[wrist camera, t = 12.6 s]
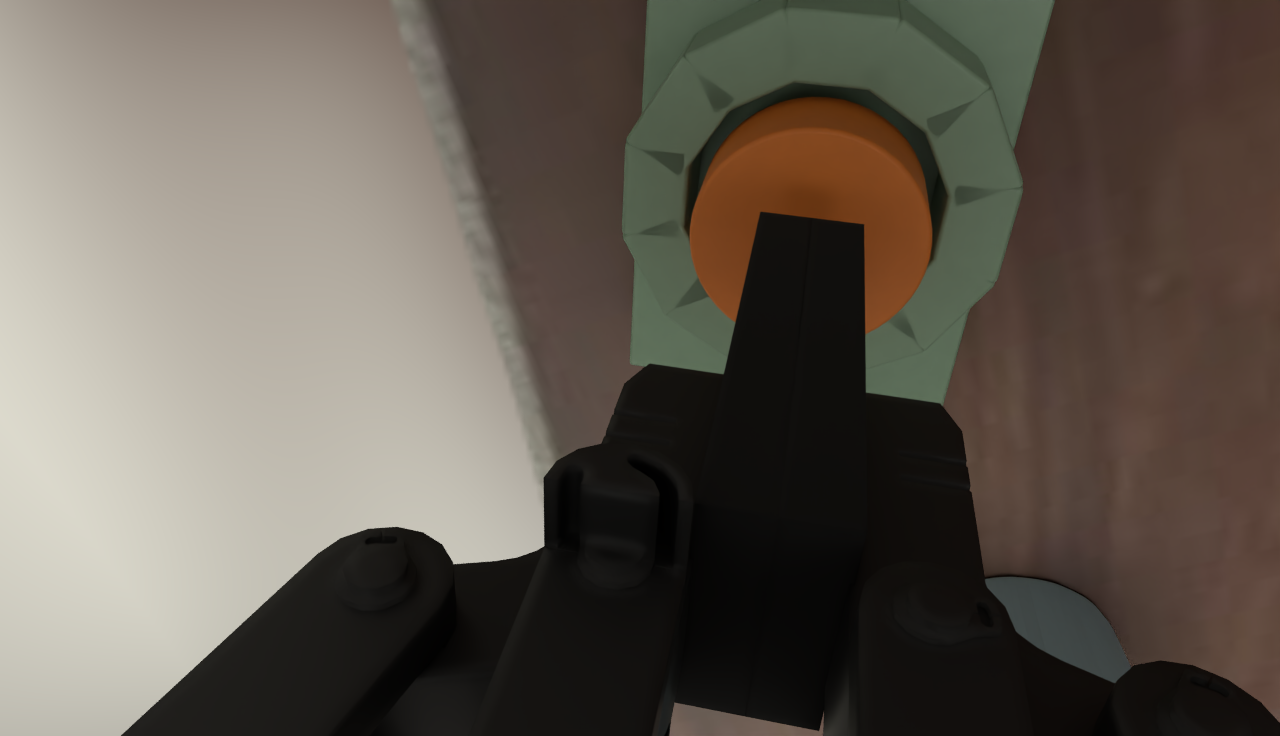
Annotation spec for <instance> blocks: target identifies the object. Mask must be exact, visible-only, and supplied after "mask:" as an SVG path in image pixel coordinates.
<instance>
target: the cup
mask: <svg viewBox="0 0 1280 736" xmlns="http://www.w3.org/2000/svg"><path fill="white" fill-rule="evenodd" d="M985 583H986V586H987V588H988V589H989V590H990V591H991V592H992V593H993V594H994V595H995V596H996V597H997V598H998V599H999V601H1000V602H1001V603H1002V604H1003V605H1004V606H1005V607H1006V609H1007V612H1008V614H1009V616H1010V619H1011V621H1012V623H1013V626H1014V628H1015V631H1016V632H1017V633H1018V634H1020V635H1021V636H1022V637H1024V638H1025V639H1026V640H1028V641H1029V642H1031V643H1032V644H1033V645H1035V646H1036V647H1037V648H1039V649H1041V650H1043V651H1045V652H1047V653H1049V654H1050V655H1052V656H1054V657H1056V658H1058V659H1060V660H1062V661H1064V662H1067V663H1069V664H1071V665H1074V666H1076V667H1078V668H1081V669H1083V670H1085V671H1088V672H1090V673H1092V674H1095V675H1097V676H1099V677H1102V678H1104V679H1106V680H1109V681H1111V682H1113V683H1116V681H1117V680H1118V679H1119V678H1120V677H1121V676H1122V675H1123V674H1125V673H1126V672H1127V671H1128V670H1129V669H1131V666H1130V664H1129V662H1128V660H1127V657H1126V655H1125V653H1124V651H1123V649H1122V646H1121V644H1120V642H1119V640H1118V638H1117V636H1116V634H1115V632H1114V630H1113V628H1112V627H1111V625H1110V623H1109V622H1108V621H1107V619H1106V618H1105V617H1104V616H1103V615H1102V613H1101V612H1100V611H1099V609H1098V608H1097V607H1096V606H1095V605H1094V604H1093V603H1092V602H1090V601H1089V600H1088V599H1086V598H1085V597H1083V596H1082V595H1080V594H1078V593H1076V592H1074V591H1072V590H1070V589H1067V588H1065V587H1063V586H1060V585H1058V584H1055V583H1052V582H1048V581H1044V580H1038V579H1032V578H1022V577H996V578H989V579H985Z"/></svg>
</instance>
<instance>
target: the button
mask: <svg viewBox="0 0 1280 736" xmlns="http://www.w3.org/2000/svg"><path fill="white" fill-rule="evenodd" d="M760 212H768V213H777V214H785V215H793V216H801V217H809V218H817V219H826V220H834V221H842V222H850V223H858V224H864V247H865V334H867V333H869V332H871V331H873V330H875V329H877V328H878V327H880V326H881V325H882V324H884V323H885V322H887V321H888V320H890V319H891V318H892V317H893V316H894V315H895V314H896V313H898V312H899V311H900V310H901V309H902V308H903V307H904V305H905V304H906V303H907V302H908V301H909V300H910V299H911V297H912V296H913V294H914V293H915V291H916V290H917V288H918V287H919V285H920V283H921V281H922V279H923V277H924V275H925V272H926V269H927V266H928V263H929V260H930V255H931V248H932V223H931V215H930V209H929V202H928V195H927V189H926V182H925V177H924V174H923V170H922V167H921V164H920V162H919V160H918V158H917V155H916V153H915V151H914V150H913V148H912V147H911V145H910V144H909V142H908V141H907V139H906V138H905V137H904V136H903V135H902V134H901V132H900V131H899V130H898V129H897V128H896V127H895V126H893V125H892V124H891V123H890V122H889V121H888V120H886V119H885V118H883V117H882V116H880V115H879V114H877V113H876V112H874V111H872V110H870V109H868V108H866V107H864V106H861V105H859V104H856V103H853V102H850V101H846V100H842V99H836V98H830V97H804V98H796V99H791V100H787V101H783V102H780V103H777V104H774V105H771V106H769V107H767V108H765V109H763V110H761V111H759V112H757V113H755V114H753V115H752V116H751V117H749V118H748V119H746V120H745V121H743V122H742V123H741V124H740V125H739V126H738V127H736V128H735V129H734V130H733V131H732V132H731V133H730V134H729V135H728V137H727V138H726V139H725V140H724V141H723V143H722V144H721V146H720V147H719V149H718V150H717V152H716V153H715V155H714V157H713V159H712V162H711V164H710V166H709V168H708V171H707V173H706V176H705V179H704V181H703V184H702V186H701V189H700V192H699V194H698V197H697V200H696V203H695V206H694V209H693V212H692V217H691V224H690V250H691V257H692V260H693V264H694V268H695V271H696V273H697V275H698V278H699V280H700V282H701V284H702V286H703V288H704V289H705V291H706V293H707V294H708V296H709V297H710V298H711V299H712V301H713V302H714V303H715V305H716V306H717V307H718V308H719V309H720V310H721V311H722V312H723V313H724V314H725V315H726V316H727V317H729V318H730V319H731V320H732V321H734V322H736V317H737V313H738V309H739V304H740V300H741V295H742V291H743V286H744V282H745V277H746V273H747V269H748V264H749V260H750V255H751V251H752V246H753V242H754V238H755V233H756V229H757V224H758V220H759V215H760Z"/></svg>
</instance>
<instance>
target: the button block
mask: <svg viewBox="0 0 1280 736" xmlns="http://www.w3.org/2000/svg"><path fill="white" fill-rule="evenodd" d="M1054 2H1055V0H647V14H646V35H645V56H644V76H643V97H642V115H641V116H640V118H639V119H638V121H637V123H636V124H635V126H634V127H633V129H632V130H631V132H630V134H629V135H628V137H627V139H626V141H627V143H626V145H625V163H624V188H623V214H622V231H623V239H624V241H625V243H626V245H627V246H628V248H629V250H630V252H631V254H632V256H633V258H634V259H635V263H634V284H633V305H632V325H631V346H630V363H631V364H632V365H637V366H644V367H646V366H647V365H648V364H649V363H650V364H657V365H664V366H671V367H678V368H684V369H691V370H698V371H705V372H712V373H718V374H724V371H725V366H726V362H727V357H728V353H729V348H730V344H731V340H732V335H733V331H734V326H735V322H734V321H732V320H731V319H730V318H729V317H727V316H726V315H725V314H724V313H723V312H722V311H721V310H720V309H719V308H718V307H717V306H716V305H715V303H714V302H713V301H712V299H711V298H710V297H709V296H708V294H707V293H706V291H705V289H704V288H703V286H702V284H701V282H700V280H699V278H698V275H697V273H696V271H695V268H694V264H693V260H692V257H691V250H690V224H691V217H692V212H693V209H694V206H695V203H696V200H697V197H698V194H699V192H700V189H701V186H702V184H703V181H704V179H705V176H706V173H707V171H708V168H709V166H710V164H711V162H712V159H713V157H714V155H715V153H716V152H717V150H718V149H719V147H720V146H721V144H722V143H723V141H724V140H725V139H726V138H727V137H728V135H729V134H730V133H731V132H732V131H733V130H734V129H735V128H736V127H738V126H739V125H740V124H741V123H742V122H743V121H745V120H746V119H748V118H749V117H751V116H752V115H753V114H755V113H757V112H759V111H761V110H763V109H765V108H767V107H769V106H771V105H774V104H777V103H780V102H783V101H787V100H791V99H796V98H804V97H830V98H836V99H842V100H846V101H850V102H853V103H856V104H859V105H861V106H864V107H866V108H868V109H870V110H872V111H874V112H876V113H877V114H879V115H880V116H882V117H883V118H885V119H886V120H888V121H889V122H890V123H891V124H892V125H893V126H895V127H896V128H897V129H898V130H899V131H900V132H901V134H902V135H903V136H904V137H905V138H906V139H907V141H908V142H909V144H910V145H911V147H912V148H913V150H914V151H915V153H916V155H917V158H918V160H919V162H920V164H921V167H922V170H923V174H924V177H925V182H926V189H927V195H928V202H929V209H930V215H931V223H932V248H931V255H930V260H929V263H928V266H927V269H926V272H925V275H924V277H923V279H922V281H921V283H920V285H919V287H918V288H917V290H916V291H915V293H914V294H913V296H912V297H911V299H910V300H909V301H908V302H907V303H906V304H905V305H904V307H903V308H902V309H901V310H900V311H899V312H898V313H896V314H895V315H894V316H893V317H892V318H891V319H890V320H888V321H887V322H885V323H884V324H882V325H881V326H880V327H878V328H877V329H875V330H873V331H871V332H869V333H867V334H865V345H866V392H867V393H874V394H881V395H888V396H894V397H901V398H908V399H915V400H922V401H928V402H935V403H940V404H941V405H942V406H943V404H944V400H945V396H946V393H947V389H948V385H949V382H950V378H951V375H952V371H953V367H954V364H955V360H956V357H957V353H958V349H959V346H960V342H961V338H962V335H963V331H964V328H965V324H966V320H967V317H968V313H969V310H970V308H971V307H972V306H973V305H974V304H975V303H976V302H977V301H978V300H980V299H981V298H982V297H983V296H984V295H985V294H986V293H987V292H988V291H989V290H990V289H991V288H992V287H993V286H994V284H995V282H996V280H997V279H998V276H999V273H1000V269H1001V266H1002V262H1003V259H1004V256H1005V252H1006V249H1007V245H1008V242H1009V238H1010V235H1011V231H1012V228H1013V224H1014V221H1015V218H1016V214H1017V211H1018V207H1019V204H1020V200H1021V197H1022V193H1023V187H1022V185H1023V179H1022V176H1021V173H1020V170H1019V167H1018V164H1017V161H1016V157H1015V154H1014V147H1015V143H1016V140H1017V136H1018V132H1019V129H1020V125H1021V122H1022V118H1023V114H1024V111H1025V107H1026V104H1027V100H1028V96H1029V93H1030V89H1031V85H1032V82H1033V78H1034V75H1035V71H1036V67H1037V64H1038V60H1039V57H1040V53H1041V49H1042V46H1043V42H1044V39H1045V35H1046V31H1047V28H1048V24H1049V20H1050V17H1051V13H1052V10H1053V6H1054Z"/></svg>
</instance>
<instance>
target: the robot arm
mask: <svg viewBox="0 0 1280 736" xmlns="http://www.w3.org/2000/svg"><path fill="white" fill-rule="evenodd" d="M966 462H967V460H966V454H965V447H964V441H963V434H962V431H961V429H960V428H959V427H958V426H957V424H956V423H955V422H954V420H953V419H952V418H951V417H950V415H949V414H948V413H947V411H946V410H945V409H944V408H943V406H942V405H941V404H940V403H935V402H928V401H922V400H915V399H908V398H901V397H894V396H888V395H881V394H874V393H867V392H866V345H865V247H864V224H858V223H850V222H842V221H834V220H826V219H817V218H809V217H801V216H793V215H785V214H777V213H768V212H760V215H759V220H758V224H757V229H756V233H755V238H754V242H753V246H752V251H751V255H750V260H749V264H748V269H747V273H746V277H745V282H744V286H743V291H742V295H741V300H740V304H739V309H738V313H737V317H736V322H735V326H734V331H733V335H732V340H731V344H730V348H729V353H728V357H727V362H726V366H725V371H724V374H718V373H712V372H705V371H698V370H691V369H684V368H678V367H671V366H664V365H657V364H650V363H649V364H648V365H647V366H646V367H644V368H643V369H642V370H641V371H639V372H638V373H637V374H636V375H634V376H633V377H632V378H631V379H629V380H628V381H627V382H626V383H625V384H624V386H623V389H622V391H621V394H620V397H619V399H618V402H617V404H616V407H615V410H614V415H612V417H611V420H610V423H609V425H608V428H607V430H606V436H604V438H603V441H602V443H601V444H599V445H594V446H590V447H585V448H580V449H577V450H576V451H574V452H572V453H570V454H568V455H567V456H565V457H563V458H561V459H559V460H558V461H556V463H555V464H554V465H553V467H552V468H551V469H550V470H549V472H548V473H547V474H546V475H545V477H544V542H545V546H544V547H542V548H541V549H539V550H537V551H535V552H532V553H529V554H527V555H523V556H521V557H518V558H512V559H506V560H500V561H492V562H479V563H466V564H453V562H452V560H451V558H450V557H449V555H448V554H447V552H446V550H445V549H444V547H443V545H442V544H440V543H439V542H437V541H435V540H434V539H432V538H431V537H429V536H428V535H426V534H424V533H423V532H418V531H413V530H409V529H404V528H399V527H389V528H375V529H367V530H364V531H361V532H358V533H355V534H352V535H349V536H346V537H343V538H341V539H339V540H338V541H336V542H335V543H333V544H332V545H330V546H329V547H327V548H326V549H324V550H323V551H321V552H320V553H318V554H317V555H316V556H315V557H314V558H313V559H312V560H311V561H310V562H308V563H307V564H306V565H305V566H304V567H303V568H302V569H301V570H300V571H299V572H298V573H297V574H295V575H294V576H293V577H292V578H291V579H290V580H289V581H288V582H287V583H286V584H285V585H283V586H282V588H280V589H279V590H278V591H277V592H276V593H275V594H274V595H273V596H272V597H271V598H269V599H268V600H267V601H266V602H265V603H264V604H263V605H262V606H261V607H260V608H259V609H258V610H256V612H254V613H253V614H252V615H251V616H250V617H249V618H248V619H247V620H246V621H245V622H243V623H242V625H240V626H239V627H238V628H237V629H236V630H235V631H234V632H233V633H232V634H231V635H229V636H228V637H227V638H226V639H225V640H224V641H223V642H222V643H221V644H220V645H219V646H217V647H216V648H215V649H214V650H213V651H212V652H211V653H210V654H209V655H208V656H207V657H206V658H204V659H203V660H202V661H201V662H200V663H199V664H198V665H197V666H196V667H195V668H194V669H193V670H192V671H190V672H189V673H188V674H187V675H186V676H185V677H184V678H183V679H182V680H181V681H180V682H179V683H178V684H176V685H175V686H174V687H173V688H172V689H171V690H170V691H169V692H168V693H167V694H166V695H165V696H163V697H162V698H161V699H160V700H159V701H158V702H157V703H156V704H155V705H154V706H153V707H151V708H150V709H149V710H148V711H147V712H146V713H145V714H144V715H143V716H142V717H141V718H140V719H139V720H137V721H136V722H135V723H134V724H133V725H132V726H131V727H130V728H129V729H128V730H127V731H126V732H124V733H123V734H122V735H121V736H669V734H670V724H671V717H672V712H673V707H674V702H675V703H680V704H685V705H690V706H696V707H701V708H706V709H711V710H716V711H721V712H726V713H731V714H736V715H741V716H746V717H751V718H756V719H761V720H766V721H771V722H777V723H782V724H787V725H792V726H797V727H802V728H807V729H812V730H817V731H819V729H820V725H821V721H822V717H823V712H824V728H823V736H1280V723H1279V722H1278V721H1277V719H1276V718H1275V717H1274V716H1273V715H1272V714H1271V713H1270V712H1269V711H1268V710H1267V709H1266V708H1265V707H1264V706H1263V704H1262V703H1261V702H1260V701H1258V700H1257V699H1255V698H1254V697H1252V696H1251V695H1249V694H1248V693H1247V692H1245V691H1244V690H1242V689H1241V688H1239V687H1238V686H1236V685H1235V684H1233V683H1232V682H1230V681H1229V680H1227V679H1225V678H1223V677H1220V676H1218V675H1215V674H1213V673H1210V672H1208V671H1205V670H1203V669H1201V668H1198V667H1196V666H1193V665H1187V664H1181V663H1174V662H1167V661H1155V662H1150V663H1145V664H1139V665H1134V666H1133V667H1132V668H1131V669H1129V670H1128V671H1127V672H1126V673H1125V674H1123V675H1122V676H1121V677H1120V678H1119V679H1118V680H1117V681H1116V683H1113V682H1111V681H1109V680H1106V679H1104V678H1102V677H1099V676H1097V675H1095V674H1092V673H1090V672H1088V671H1085V670H1083V669H1081V668H1078V667H1076V666H1074V665H1071V664H1069V663H1067V662H1064V661H1062V660H1060V659H1058V658H1056V657H1054V656H1052V655H1050V654H1049V653H1047V652H1045V651H1043V650H1041V649H1039V648H1037V647H1036V646H1035V645H1033V644H1032V643H1031V642H1029V641H1028V640H1026V639H1025V638H1024V637H1022V636H1021V635H1020V634H1018V633H1017V632H1016V631H1015V628H1014V626H1013V623H1012V621H1011V619H1010V616H1009V614H1008V612H1007V609H1006V607H1005V606H1004V605H1003V604H1002V603H1001V602H1000V601H999V599H998V598H997V597H996V596H995V595H994V594H993V593H992V592H991V591H990V590H989V589H988V588H987V586H986V583H985V576H984V570H983V563H982V557H981V550H980V544H979V538H978V531H977V525H976V518H975V512H974V505H973V499H972V492H970V479H969V473H968V467H966Z"/></svg>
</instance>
